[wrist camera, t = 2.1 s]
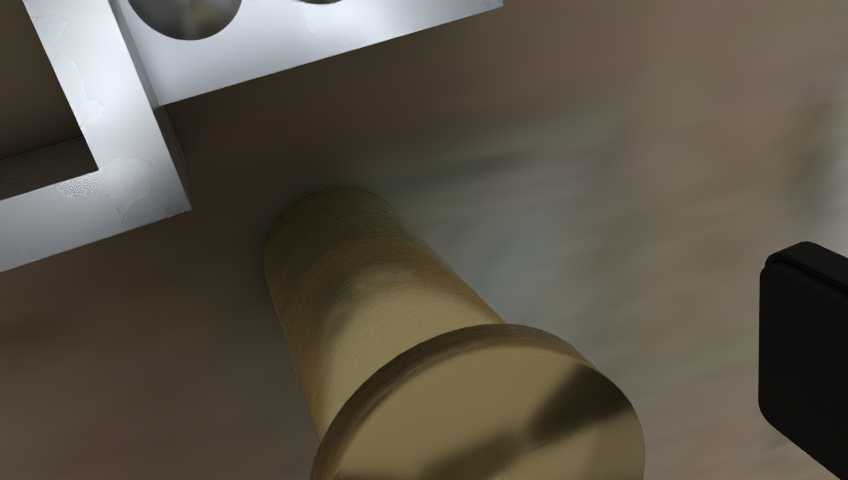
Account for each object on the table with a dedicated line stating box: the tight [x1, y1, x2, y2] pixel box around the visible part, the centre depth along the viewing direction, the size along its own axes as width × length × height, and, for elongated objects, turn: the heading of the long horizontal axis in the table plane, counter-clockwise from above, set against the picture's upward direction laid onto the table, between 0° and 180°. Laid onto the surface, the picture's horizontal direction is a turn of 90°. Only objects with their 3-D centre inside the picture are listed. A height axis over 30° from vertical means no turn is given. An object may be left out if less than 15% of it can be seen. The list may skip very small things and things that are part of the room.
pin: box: [263, 188, 645, 480], centre depth 14 cm, size 5×5×10 cm
